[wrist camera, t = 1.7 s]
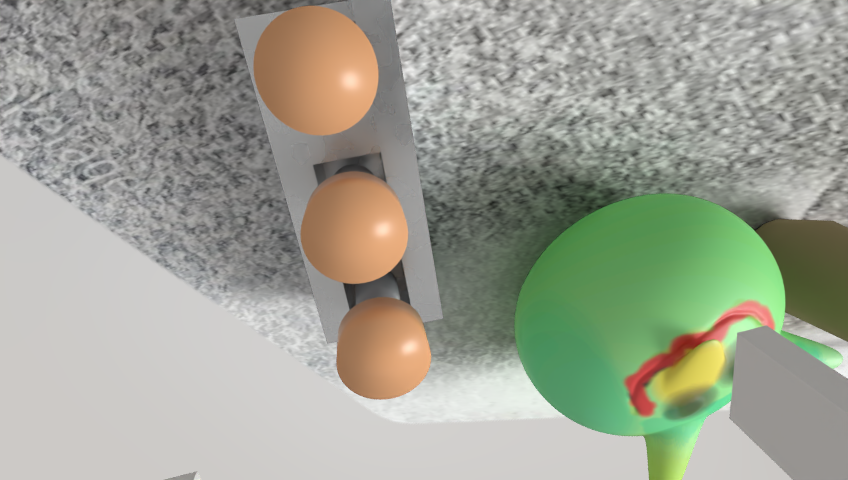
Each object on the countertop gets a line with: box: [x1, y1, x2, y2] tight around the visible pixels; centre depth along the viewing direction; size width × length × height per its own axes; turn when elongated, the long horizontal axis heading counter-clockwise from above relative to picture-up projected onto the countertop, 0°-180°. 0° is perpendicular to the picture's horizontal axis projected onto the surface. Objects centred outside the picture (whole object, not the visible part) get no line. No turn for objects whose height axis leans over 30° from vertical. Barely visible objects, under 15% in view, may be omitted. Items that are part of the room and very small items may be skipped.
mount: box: [234, 0, 443, 343], centre depth 31 cm, size 20×8×6 cm, turn 9°
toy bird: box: [514, 194, 843, 480], centre depth 33 cm, size 18×17×15 cm
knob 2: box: [337, 271, 431, 399], centre depth 28 cm, size 5×5×8 cm
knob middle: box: [300, 164, 408, 284], centre depth 25 cm, size 5×5×8 cm
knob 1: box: [253, 6, 378, 135], centre depth 22 cm, size 5×5×8 cm
